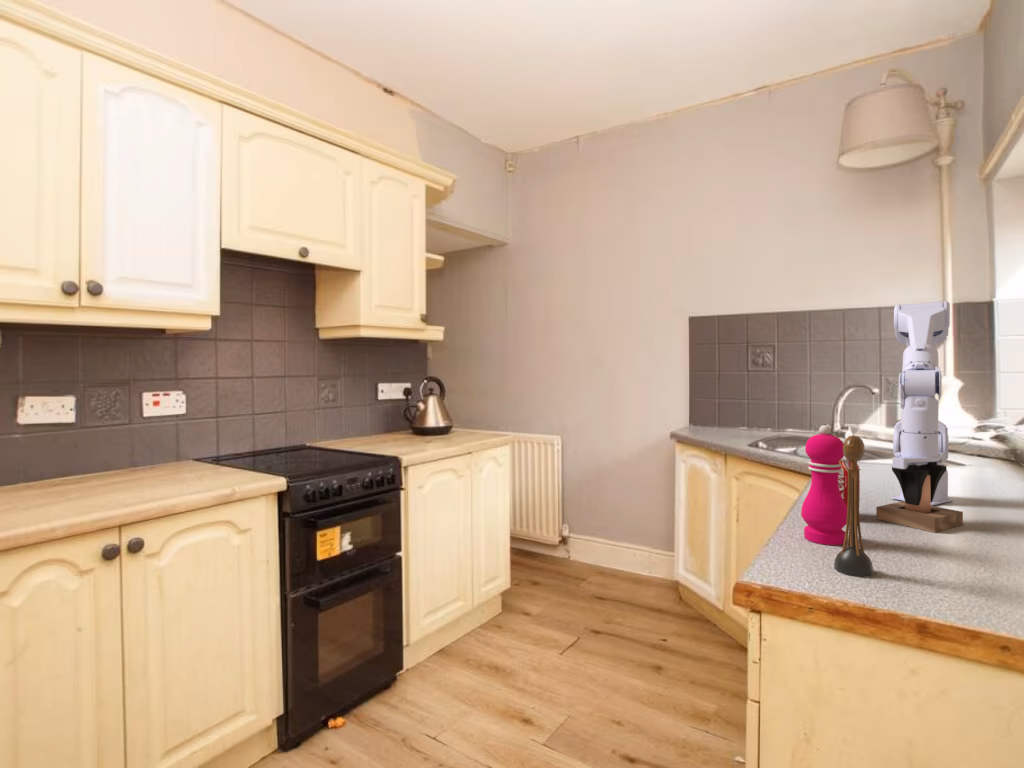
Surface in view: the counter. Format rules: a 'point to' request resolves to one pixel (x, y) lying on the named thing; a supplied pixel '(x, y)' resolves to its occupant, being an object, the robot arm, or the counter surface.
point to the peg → (922, 499)
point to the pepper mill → (824, 490)
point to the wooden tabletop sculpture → (853, 517)
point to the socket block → (920, 517)
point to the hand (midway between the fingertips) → (918, 502)
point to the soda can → (845, 479)
